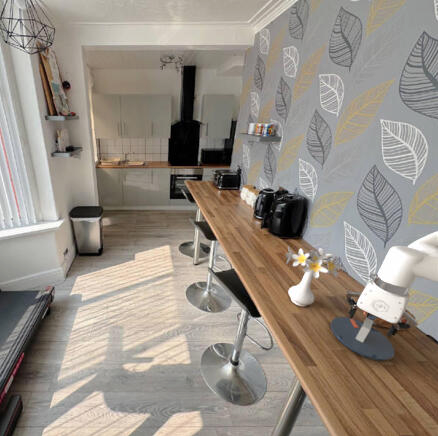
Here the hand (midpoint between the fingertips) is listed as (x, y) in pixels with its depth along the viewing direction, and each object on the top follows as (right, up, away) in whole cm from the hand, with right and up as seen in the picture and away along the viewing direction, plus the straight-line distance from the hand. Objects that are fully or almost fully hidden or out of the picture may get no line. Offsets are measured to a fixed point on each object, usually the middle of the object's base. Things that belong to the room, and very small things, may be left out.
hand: (369, 325), depth 79 cm
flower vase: (-11, +1, +21) cm, 23 cm away
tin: (+15, -5, +11) cm, 19 cm away
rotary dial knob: (-1, -6, +3) cm, 6 cm away
